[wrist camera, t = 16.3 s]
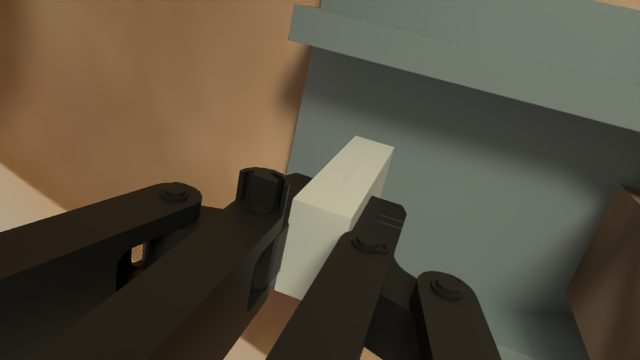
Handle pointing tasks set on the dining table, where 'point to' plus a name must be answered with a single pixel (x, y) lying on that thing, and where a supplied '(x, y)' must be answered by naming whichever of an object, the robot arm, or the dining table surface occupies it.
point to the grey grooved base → (483, 139)
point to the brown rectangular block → (611, 283)
